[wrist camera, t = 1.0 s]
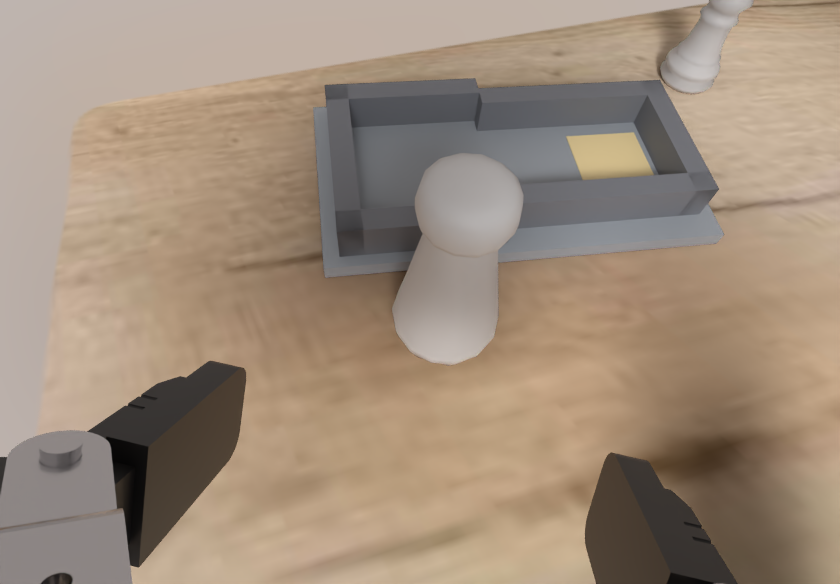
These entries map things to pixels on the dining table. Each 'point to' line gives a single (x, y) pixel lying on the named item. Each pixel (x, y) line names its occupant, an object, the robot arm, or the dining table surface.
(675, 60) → the rook chess piece
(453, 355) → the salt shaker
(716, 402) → the dining table surface
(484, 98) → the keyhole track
